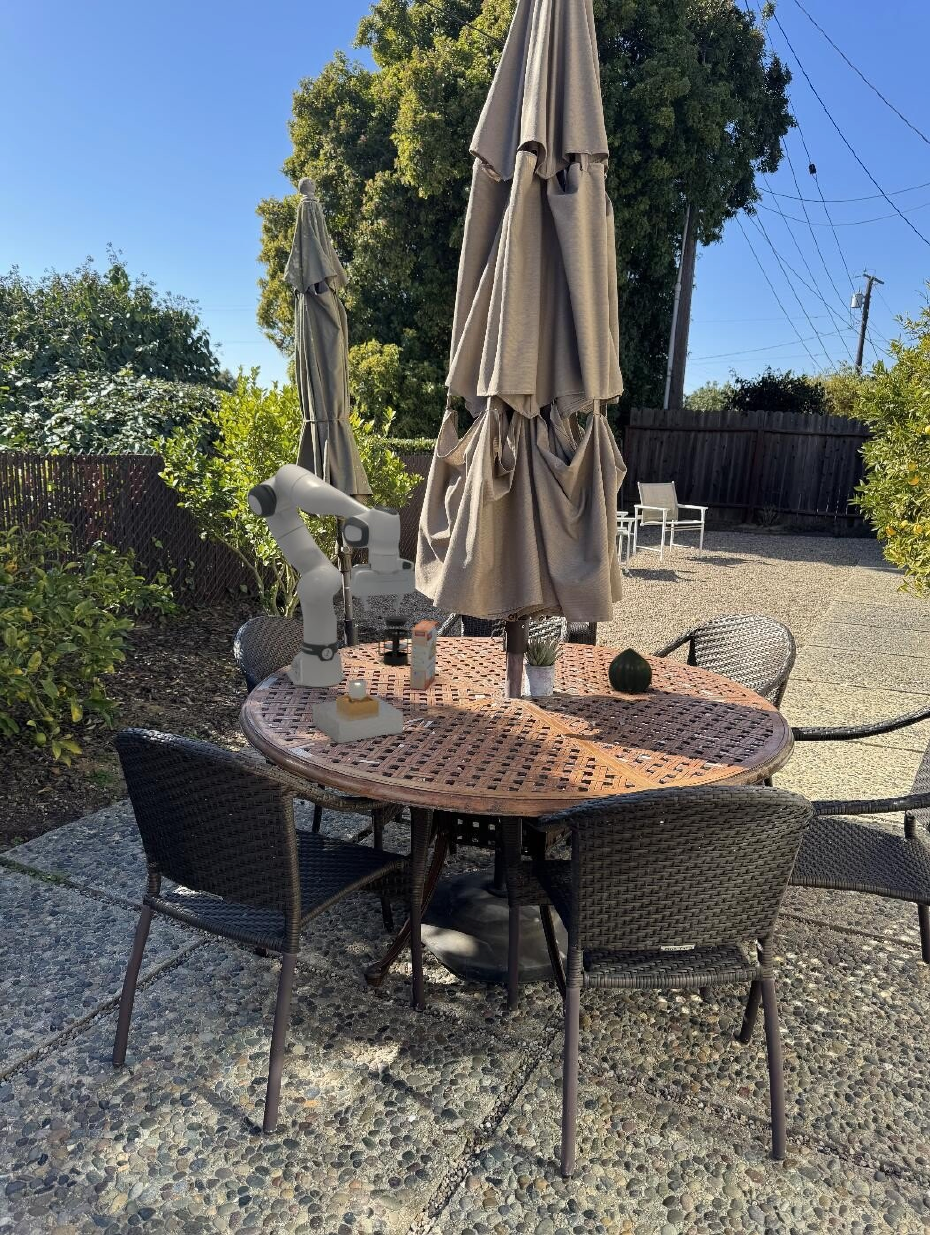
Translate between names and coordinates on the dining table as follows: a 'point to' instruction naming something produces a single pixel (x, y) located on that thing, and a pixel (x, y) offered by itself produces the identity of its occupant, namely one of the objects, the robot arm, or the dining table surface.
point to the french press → (395, 641)
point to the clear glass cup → (357, 691)
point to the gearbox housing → (357, 719)
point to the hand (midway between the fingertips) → (381, 609)
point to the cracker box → (423, 655)
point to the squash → (630, 672)
